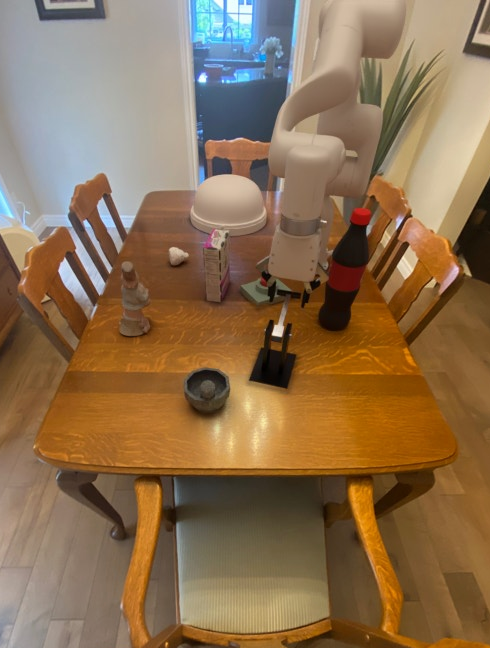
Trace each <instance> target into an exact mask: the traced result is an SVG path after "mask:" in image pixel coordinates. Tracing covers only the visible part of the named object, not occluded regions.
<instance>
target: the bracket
mask: <svg viewBox="0 0 490 648" xmlns="http://www.w3.org/2000/svg"><path fill="white" fill-rule="evenodd" d="M274 325H275V320H274V319H269V320H268V323H267V326H266V327H265V328H264V331H263V335H264V341H263V346H261V347H260V349H259V352H258V354H257V358H256V360H255V362H254V365H253V367H252V371H251V374H250V376H249V379H248V381H250V382H254V383H258V384H263V385H268V386H271V387H276V388H281V389H285V390H288V389H289V388H288V387H289V384H290V380H291V377H292V373H293V369H294V366H295V362H296V359H297V355H298V354H297V353H292V352H288V351H289V345H290V341H291V340H292V337H293V332H292V327H293V323H292V322H287V323H286V326H285V329H284V335H283V339H282V343H281V350H278V349H272V342H273V341H272V332H273V329H274Z"/></svg>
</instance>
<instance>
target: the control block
mask: <svg viewBox="0 0 490 648" xmlns="http://www.w3.org/2000/svg"><path fill="white" fill-rule="evenodd" d="M261 278H262V277H258V278H257V279H256V280H255V281H251V282H248V283H245V284H241V285H240V290H239V292H240V293H241V294H242V296H244V297H245V298H246V299H247V300H248V301H249V302H252V303H254V304H255V305H256V306H257V307H260V306H263V305H268V306H271V305H274V304H277V303H278V304H279V303H280V302H284V301H285V297H284V296H278V295H277V290H278V289H282V290H288V291H293V290H292V289H291V288H290V287H288V285H286V284H285V283H284V282H282V281H281V280H280V279H279V278H277V279H276V282H277V283H276V291H275V297H274V299H273V302H269V299H270V297H268V296H267V295H268V287H264V286H262V285H261Z"/></svg>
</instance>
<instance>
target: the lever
mask: <svg viewBox="0 0 490 648" xmlns="http://www.w3.org/2000/svg"><path fill="white" fill-rule="evenodd" d="M277 295H278V296H284V297H285V300H284V301H283V304H282V309H281V312H280V315H279V318H278V322H277V324H274V326H273V332H272V342H274V343H280V344H282V343H283V337H284V333H285V329H286V326H284V324H285V321H286V317H287V313H288V309H289V306H290V302H291V299H296V300H302V299H301V298H302V295H303V293H302V292H298V291H293V290H292V291H288V290H282V289H278V290H277Z"/></svg>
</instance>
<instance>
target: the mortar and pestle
mask: <svg viewBox="0 0 490 648" xmlns="http://www.w3.org/2000/svg"><path fill="white" fill-rule="evenodd" d="M183 394H184V397H185V400H186V401H187V402H188V403H189V404H190V405H191V406H192V407H194V408H195V409H196V410H197V411H199V412H200V413H205V414H212V413H214V412H217V411H218V410H219V409H220V408H222V406H223V405H225V402H226V401H227V400H228V398H229V397H230V394H231V383H230V378H229V375H227V374H226V373H224V372H223V371H222V370H221V369H220V368H213V367H207V366H206V367H205V366H204V367H201V368H197V369H194V370H191V371H190V372H189V373H188V374H187V376H186V377H185V378H184V379H183Z"/></svg>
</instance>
